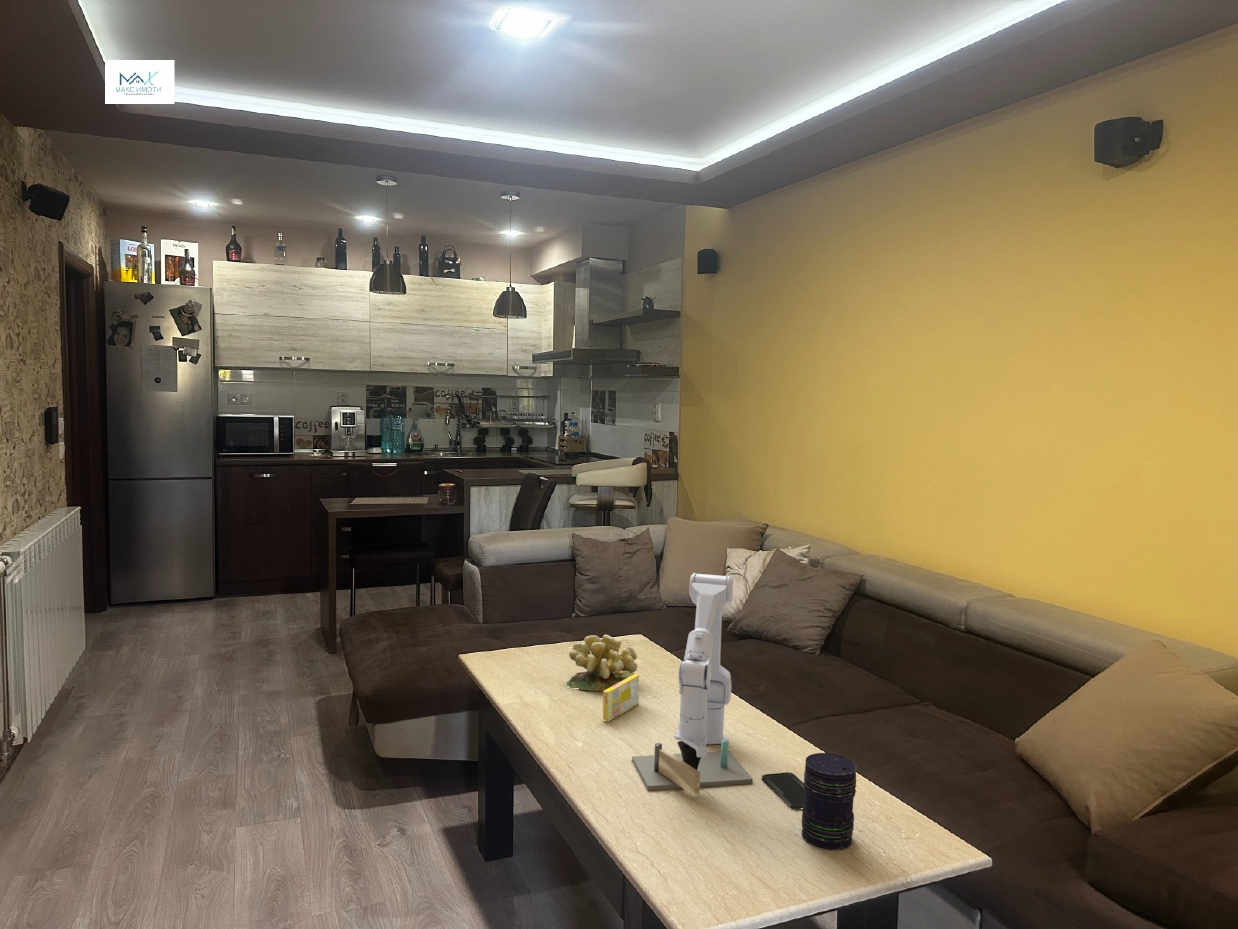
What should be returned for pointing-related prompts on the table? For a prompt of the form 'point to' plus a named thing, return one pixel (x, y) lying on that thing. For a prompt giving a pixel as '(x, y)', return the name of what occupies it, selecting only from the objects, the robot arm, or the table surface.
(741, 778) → the gate board
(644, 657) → the table surface
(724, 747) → the latch post
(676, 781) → the gate
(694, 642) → the robot arm
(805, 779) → the storage jar
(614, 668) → the coral
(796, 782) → the phone
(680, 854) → the table surface
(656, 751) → the hinge post
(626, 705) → the candy box
